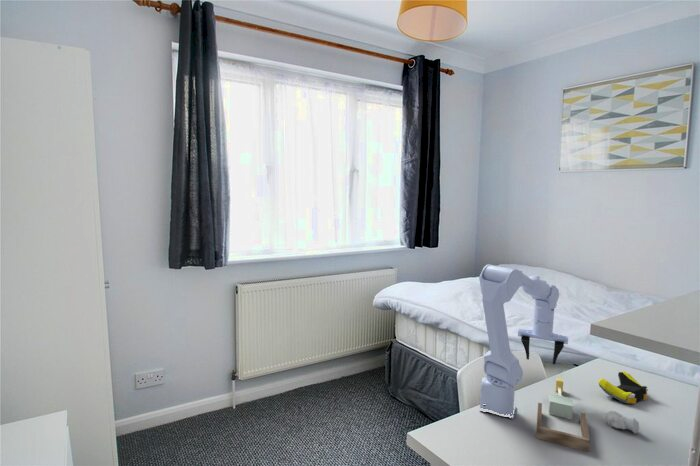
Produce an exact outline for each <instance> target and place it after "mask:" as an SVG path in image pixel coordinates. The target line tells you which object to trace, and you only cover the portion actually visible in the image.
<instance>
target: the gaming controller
mask: <svg viewBox="0 0 700 466" xmlns="http://www.w3.org/2000/svg"><path fill="white" fill-rule="evenodd" d="M617 377H618V380H619V385H618V386H616V385H614V384H612V383H611V382H609V381H608V380H607V379H605V378H599V380H598V386H599V388H600V389H601V390H602V391H603V392H604V393H606V395H608V396H610V397H612V398H614V399H615V400H618V402H620V403H623V404H632V405H633V404H635V405H636V404H637V403H639V402H642V401H644V400H647V397H648V391H649V390H650V388H649V387H648V386H646V385H641V384H640V383H639V382H638V381H637V379H635V378H634V377H633V375H631V373H628V372H626V371H618V373H617Z"/></svg>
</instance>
